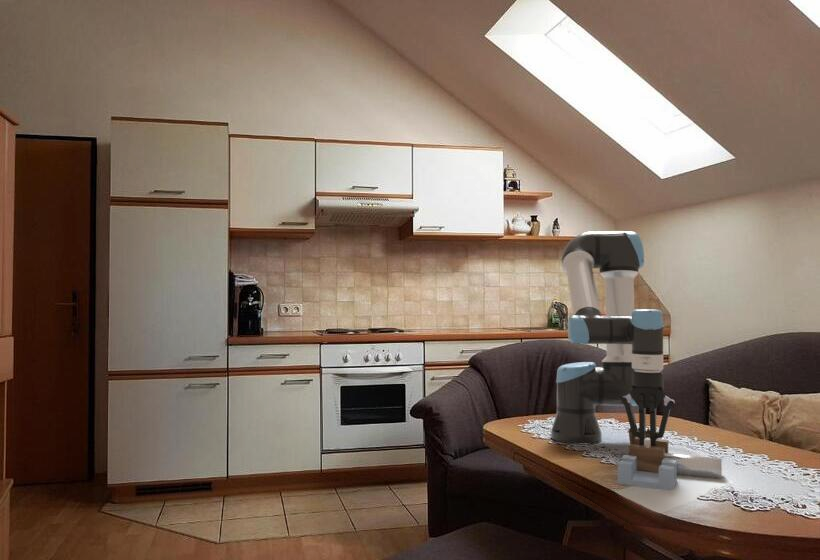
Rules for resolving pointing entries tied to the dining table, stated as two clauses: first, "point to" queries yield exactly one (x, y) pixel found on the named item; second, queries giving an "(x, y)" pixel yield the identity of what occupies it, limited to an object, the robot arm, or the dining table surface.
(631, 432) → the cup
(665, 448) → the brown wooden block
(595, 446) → the dining table surface
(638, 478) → the cradle
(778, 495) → the dining table surface
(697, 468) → the white long block
